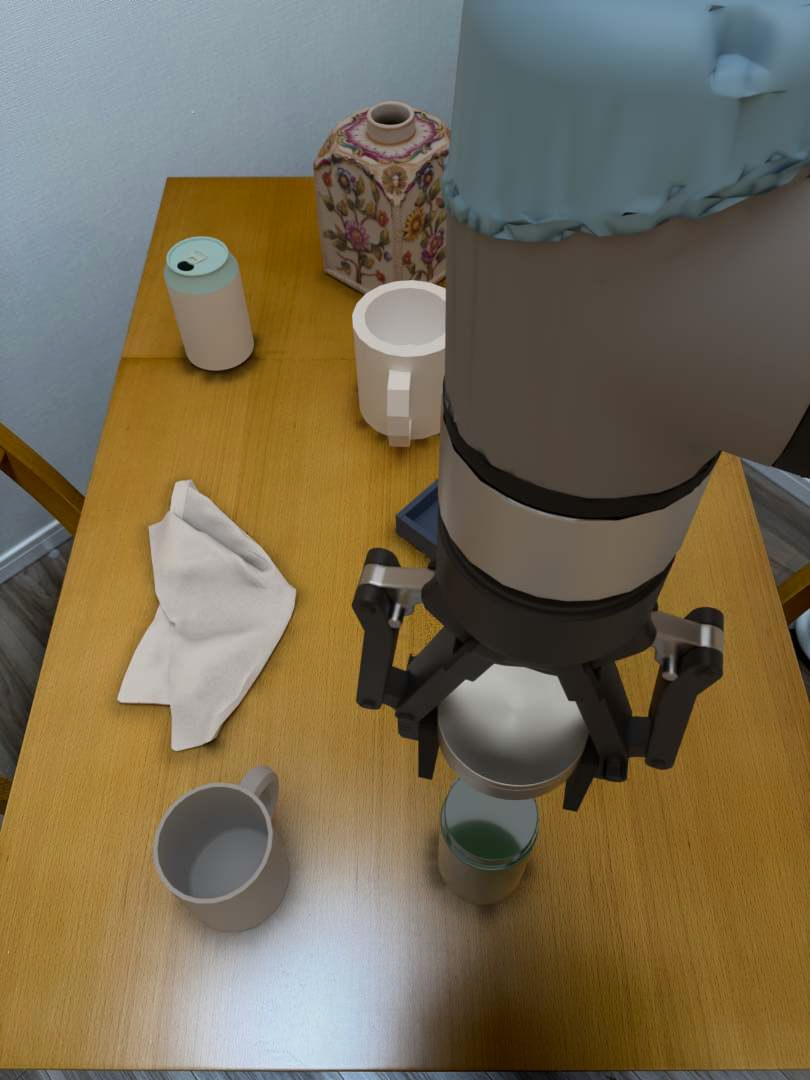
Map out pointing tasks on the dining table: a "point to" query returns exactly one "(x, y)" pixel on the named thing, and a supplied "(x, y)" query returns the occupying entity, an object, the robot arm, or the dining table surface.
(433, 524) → the tray
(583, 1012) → the dining table surface
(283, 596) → the cloth
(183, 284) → the can
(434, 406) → the mug
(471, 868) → the jar
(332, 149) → the decorative jar
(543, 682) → the lid
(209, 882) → the cup
